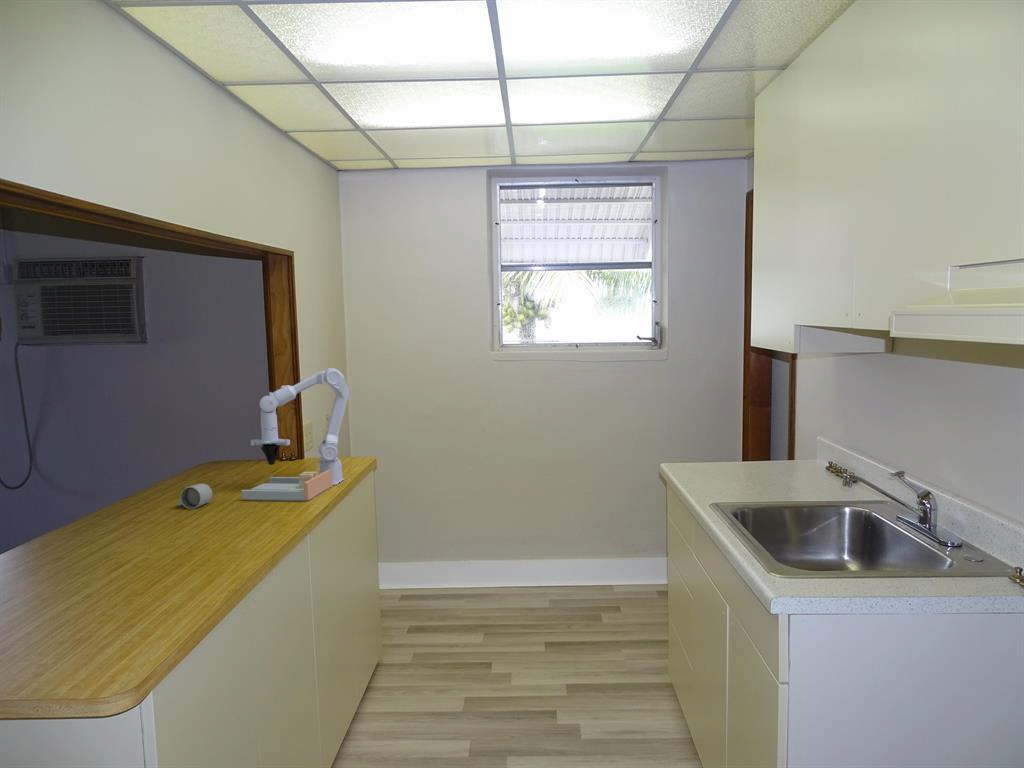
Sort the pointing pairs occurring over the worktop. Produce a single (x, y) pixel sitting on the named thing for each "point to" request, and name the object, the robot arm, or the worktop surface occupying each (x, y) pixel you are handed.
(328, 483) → the box
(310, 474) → the birch block
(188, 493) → the ceramic mug
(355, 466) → the worktop surface
